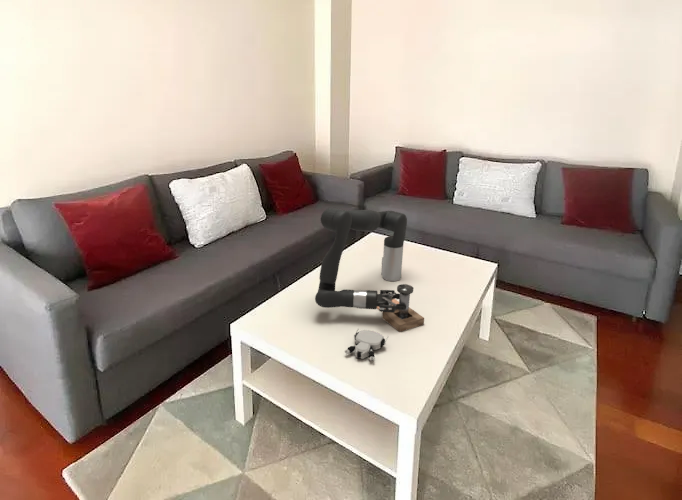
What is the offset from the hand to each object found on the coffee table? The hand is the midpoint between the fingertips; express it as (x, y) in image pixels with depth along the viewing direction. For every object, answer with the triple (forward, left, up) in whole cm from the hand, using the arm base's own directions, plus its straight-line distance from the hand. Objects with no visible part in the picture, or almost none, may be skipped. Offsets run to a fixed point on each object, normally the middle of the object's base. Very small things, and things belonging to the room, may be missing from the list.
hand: (405, 301), depth 184 cm
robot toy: (+10, -25, -9) cm, 28 cm away
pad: (-16, +1, -9) cm, 19 cm away
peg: (0, -1, -9) cm, 9 cm away
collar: (0, -1, -9) cm, 9 cm away
